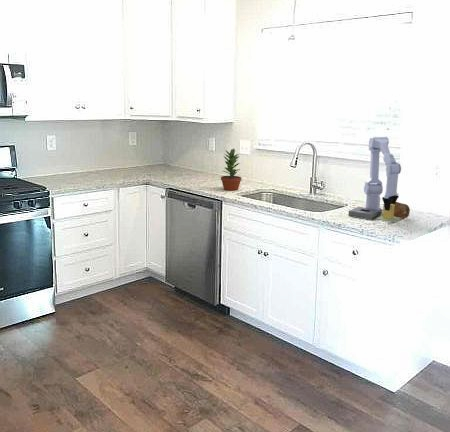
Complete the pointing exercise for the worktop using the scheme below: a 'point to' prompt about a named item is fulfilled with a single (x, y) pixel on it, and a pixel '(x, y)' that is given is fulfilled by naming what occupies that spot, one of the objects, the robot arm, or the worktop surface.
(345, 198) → the worktop surface
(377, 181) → the robot arm
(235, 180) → the potted plant
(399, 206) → the tin
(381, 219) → the mat
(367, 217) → the square hole plate
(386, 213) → the plug
